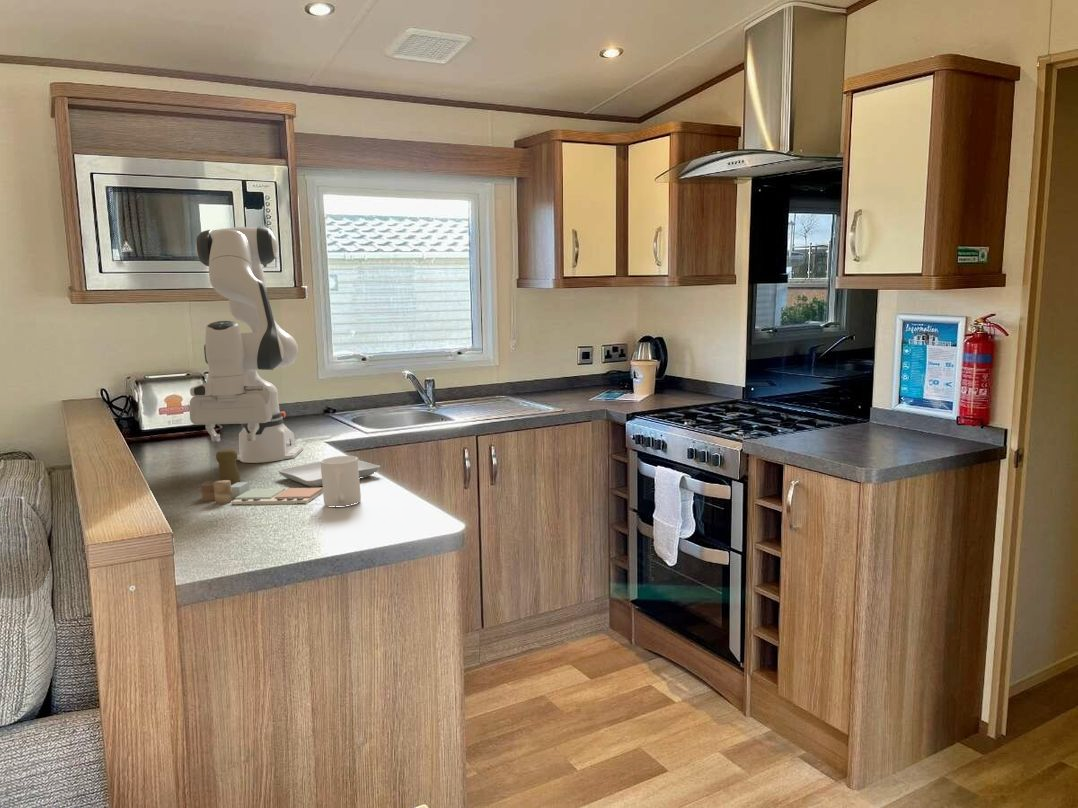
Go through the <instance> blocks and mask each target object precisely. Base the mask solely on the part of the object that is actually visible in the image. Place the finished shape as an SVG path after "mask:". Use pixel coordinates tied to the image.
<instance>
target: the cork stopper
mask: <svg viewBox="0 0 1078 808" xmlns="http://www.w3.org/2000/svg"><path fill="white" fill-rule="evenodd" d="M216 481H217V482H214V483H213V486H214V495H215V500H214V503H215V505H223V503H226V504H229V503H228V502H230V503H231V501H233V500H234V498H232V490H231V481H230V480H222V481H218V480H216Z"/></svg>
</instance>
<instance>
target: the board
mask: <svg viewBox="0 0 1078 808" xmlns="http://www.w3.org/2000/svg"><path fill="white" fill-rule="evenodd" d="M322 492H323V487H289V488H286V487H279V488H276V487H275V488H274V487H273V488H251V489H250V488H249V491H247V492H245V493H243V494H241V495H239V496H238V497H236V498H234V499H233V501H232V502H230V504H231V505H232V504H251V505H297V503H307V504H308V503H310V502H311V501H313V500H314V499H315V497H316V496H317V497H318V495H319V494H320V495H321V493H322ZM322 494H323V493H322ZM320 495H319V496H320ZM317 497H316V498H317ZM313 498H314V499H313ZM312 499H313V500H312ZM309 501H310V502H309ZM295 503H296V504H295Z"/></svg>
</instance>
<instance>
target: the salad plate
mask: <svg viewBox="0 0 1078 808" xmlns="http://www.w3.org/2000/svg"><path fill="white" fill-rule="evenodd" d="M358 468H359V478H360V477H365V476H367V477H370V476H372V475H373V474H375V473H376V472H378V471H379V470H380V468H381V465H379V464H378V465H377V464H374V463H370V462H366V461H363V460H359V459H358ZM277 472H278V473H279V475H281V476H282V477H284V478H285V479H288V480H292V481H294V482H297V483H300V484H302V485H304V486H309V487H310V488H320V487H319V486H322V474H321V461H317V462H316V461H315V462H311V463H306V464H300V465H296V466H290V467H287V468H286V467H285V468H282V469H281V468H280V469H278V470H277ZM374 472H375V473H374ZM365 478H366V477H365Z"/></svg>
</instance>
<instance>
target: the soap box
mask: <svg viewBox="0 0 1078 808" xmlns="http://www.w3.org/2000/svg"><path fill="white" fill-rule="evenodd" d="M231 490H232V499H236V497H238V496H239V495H241V494H243V493H245V492H247V491H249V490H250V483H249V481H242V482H237V483H235V484H233V485H231Z"/></svg>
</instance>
